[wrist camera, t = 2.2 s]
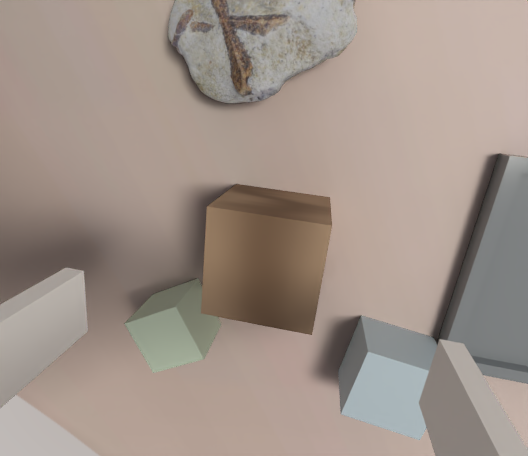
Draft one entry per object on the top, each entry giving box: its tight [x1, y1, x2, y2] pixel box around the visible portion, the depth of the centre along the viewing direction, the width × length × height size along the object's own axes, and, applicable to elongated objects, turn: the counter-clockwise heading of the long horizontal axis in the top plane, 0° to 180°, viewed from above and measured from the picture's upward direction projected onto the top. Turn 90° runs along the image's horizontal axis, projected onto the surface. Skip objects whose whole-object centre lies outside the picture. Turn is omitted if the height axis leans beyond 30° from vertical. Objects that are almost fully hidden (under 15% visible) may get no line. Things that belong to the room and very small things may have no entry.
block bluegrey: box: [338, 315, 437, 440], centre depth 22 cm, size 5×5×4 cm
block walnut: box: [201, 184, 332, 335], centre depth 20 cm, size 6×6×6 cm
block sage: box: [124, 279, 221, 373], centre depth 24 cm, size 4×4×4 cm
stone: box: [168, 0, 357, 103], centre depth 17 cm, size 10×7×3 cm
